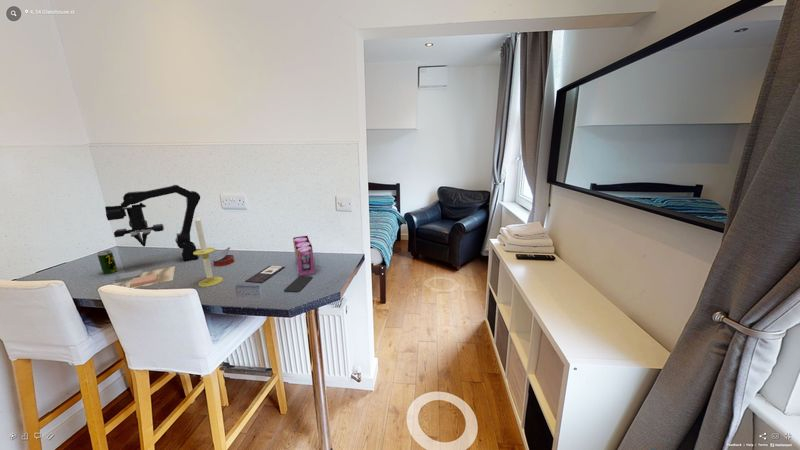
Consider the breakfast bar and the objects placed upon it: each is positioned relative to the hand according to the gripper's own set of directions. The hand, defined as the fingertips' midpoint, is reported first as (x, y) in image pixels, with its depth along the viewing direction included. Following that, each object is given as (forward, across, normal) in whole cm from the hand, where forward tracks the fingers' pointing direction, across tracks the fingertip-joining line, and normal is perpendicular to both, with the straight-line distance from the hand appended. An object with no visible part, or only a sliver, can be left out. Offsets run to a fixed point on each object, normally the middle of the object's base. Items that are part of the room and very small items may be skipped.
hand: (144, 246), depth 149 cm
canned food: (+13, -33, +16) cm, 39 cm away
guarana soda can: (+13, +16, -4) cm, 21 cm away
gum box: (+13, -67, +50) cm, 85 cm away
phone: (+13, -59, +68) cm, 91 cm away
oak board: (+12, 0, +16) cm, 21 cm away
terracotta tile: (+11, -5, +22) cm, 25 cm away
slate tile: (+11, +2, +11) cm, 16 cm away
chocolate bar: (+13, -49, +47) cm, 69 cm away
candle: (+13, -26, +40) cm, 49 cm away
